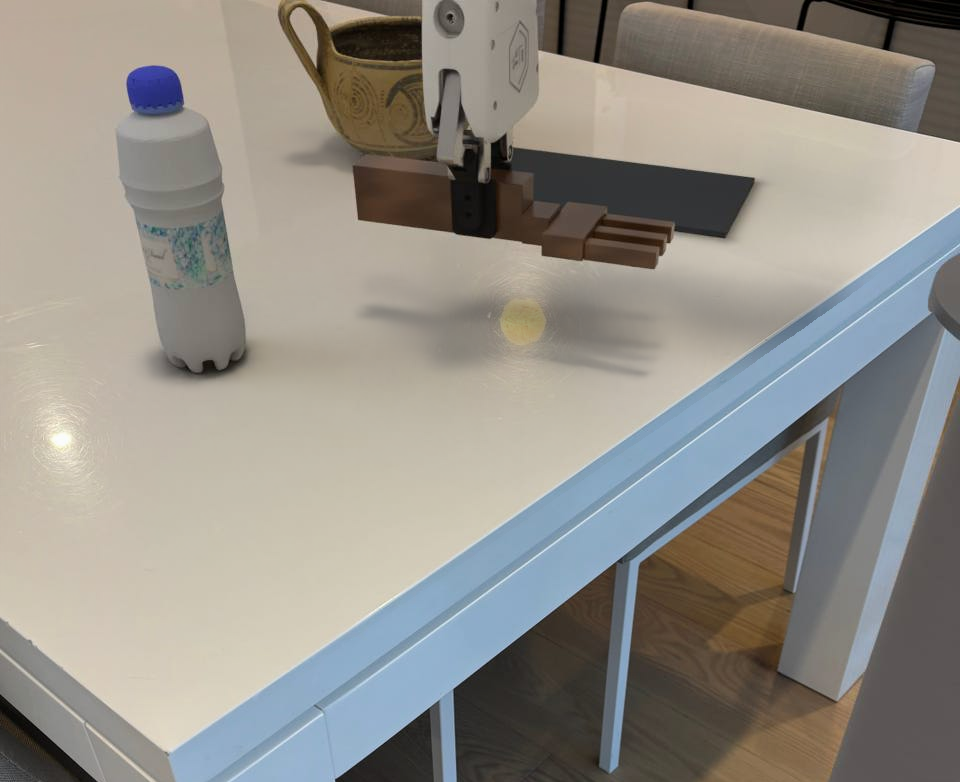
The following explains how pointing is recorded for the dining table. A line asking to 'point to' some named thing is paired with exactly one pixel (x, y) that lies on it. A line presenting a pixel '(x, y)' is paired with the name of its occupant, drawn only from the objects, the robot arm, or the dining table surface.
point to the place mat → (637, 189)
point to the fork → (507, 213)
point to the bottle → (180, 221)
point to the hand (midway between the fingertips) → (482, 224)
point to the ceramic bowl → (369, 80)
